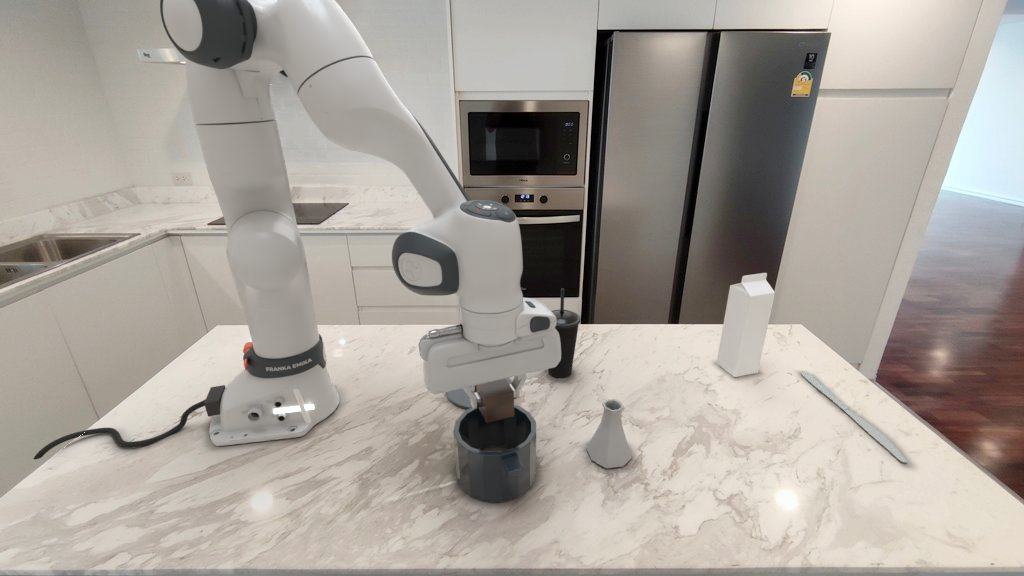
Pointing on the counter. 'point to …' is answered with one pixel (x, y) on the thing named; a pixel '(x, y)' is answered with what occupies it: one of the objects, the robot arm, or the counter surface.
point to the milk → (745, 325)
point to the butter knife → (856, 418)
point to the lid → (463, 397)
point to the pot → (495, 455)
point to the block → (496, 400)
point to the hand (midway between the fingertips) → (495, 401)
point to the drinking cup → (565, 339)
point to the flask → (610, 438)
